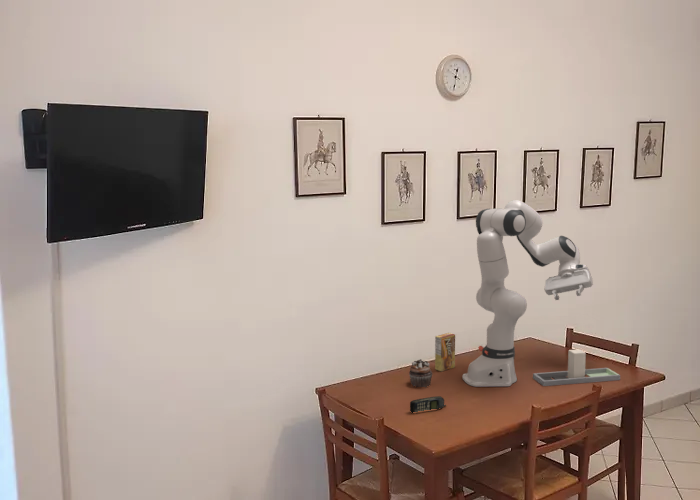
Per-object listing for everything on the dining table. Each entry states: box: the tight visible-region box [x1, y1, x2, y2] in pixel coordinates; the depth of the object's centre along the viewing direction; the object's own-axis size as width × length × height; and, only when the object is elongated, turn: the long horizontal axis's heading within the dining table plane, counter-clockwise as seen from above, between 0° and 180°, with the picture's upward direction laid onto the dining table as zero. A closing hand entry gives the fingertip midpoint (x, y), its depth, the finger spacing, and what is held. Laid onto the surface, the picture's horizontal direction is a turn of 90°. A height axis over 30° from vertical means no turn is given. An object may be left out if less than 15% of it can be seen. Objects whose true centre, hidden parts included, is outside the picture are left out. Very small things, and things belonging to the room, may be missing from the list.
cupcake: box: [408, 359, 433, 388], centre depth 274 cm, size 10×10×10 cm
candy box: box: [434, 332, 456, 372], centre depth 293 cm, size 9×4×15 cm, turn 129°
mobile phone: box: [409, 395, 447, 414], centre depth 248 cm, size 5×3×15 cm
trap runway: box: [532, 367, 621, 387], centre depth 278 cm, size 34×10×2 cm, turn 100°
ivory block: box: [567, 348, 587, 379], centre depth 277 cm, size 5×5×12 cm
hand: (567, 297), depth 282 cm, fingers open, 8 cm apart
